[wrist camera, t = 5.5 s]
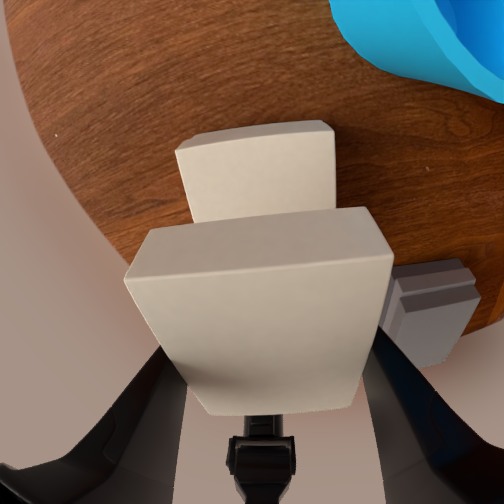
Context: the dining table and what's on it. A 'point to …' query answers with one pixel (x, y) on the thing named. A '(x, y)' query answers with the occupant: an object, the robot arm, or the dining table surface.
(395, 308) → the grey pile
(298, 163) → the white pile
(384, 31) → the mug
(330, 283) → the white block
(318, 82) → the dining table surface
